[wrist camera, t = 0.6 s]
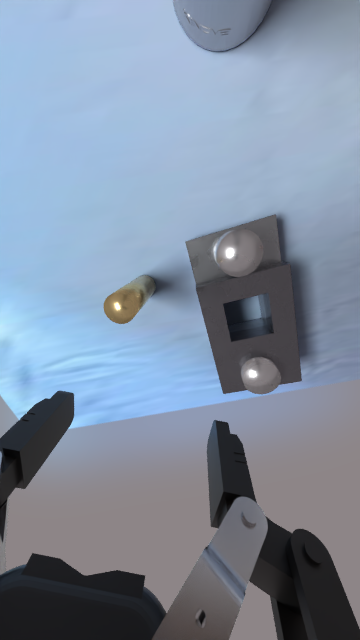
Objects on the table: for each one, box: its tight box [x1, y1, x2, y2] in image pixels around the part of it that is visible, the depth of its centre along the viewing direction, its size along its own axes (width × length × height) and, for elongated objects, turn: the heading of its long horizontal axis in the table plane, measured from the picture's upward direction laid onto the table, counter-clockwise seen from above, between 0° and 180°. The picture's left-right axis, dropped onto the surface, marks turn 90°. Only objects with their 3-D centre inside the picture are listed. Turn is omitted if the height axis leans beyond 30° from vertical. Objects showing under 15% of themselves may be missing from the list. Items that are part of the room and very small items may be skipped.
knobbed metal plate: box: [185, 214, 302, 394], centre depth 25 cm, size 20×10×6 cm, turn 16°
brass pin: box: [104, 275, 156, 324], centre depth 24 cm, size 3×3×10 cm
